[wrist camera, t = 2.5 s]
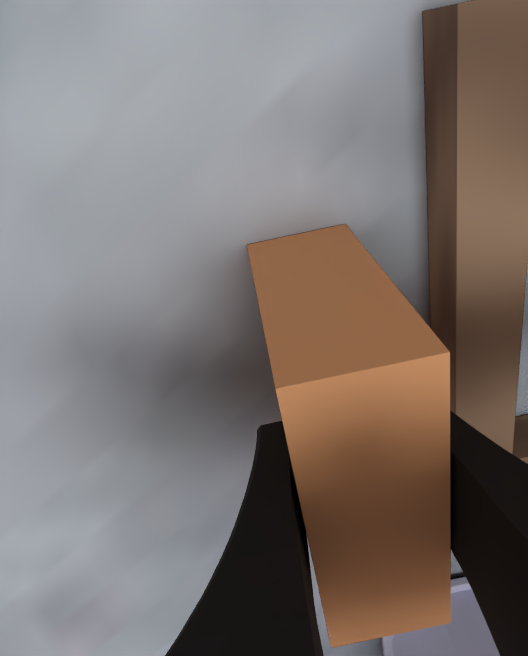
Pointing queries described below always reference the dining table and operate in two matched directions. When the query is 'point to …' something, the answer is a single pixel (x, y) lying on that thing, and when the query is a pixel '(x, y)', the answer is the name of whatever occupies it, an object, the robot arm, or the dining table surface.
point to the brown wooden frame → (479, 205)
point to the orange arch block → (361, 431)
